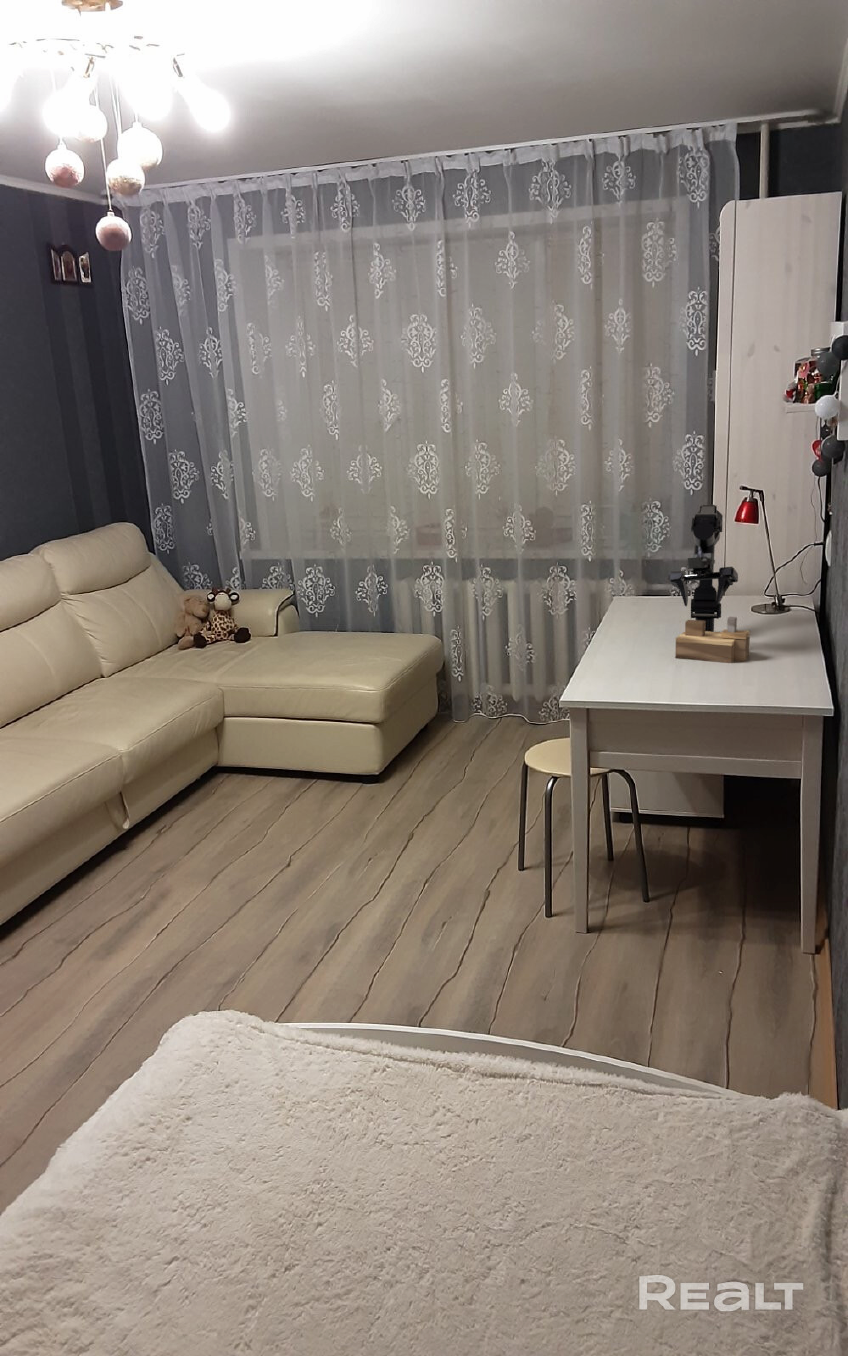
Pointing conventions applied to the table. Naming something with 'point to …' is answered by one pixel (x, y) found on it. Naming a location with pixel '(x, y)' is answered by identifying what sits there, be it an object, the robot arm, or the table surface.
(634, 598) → the table surface
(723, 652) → the toolbox
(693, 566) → the robot arm
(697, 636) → the lid
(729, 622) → the block
